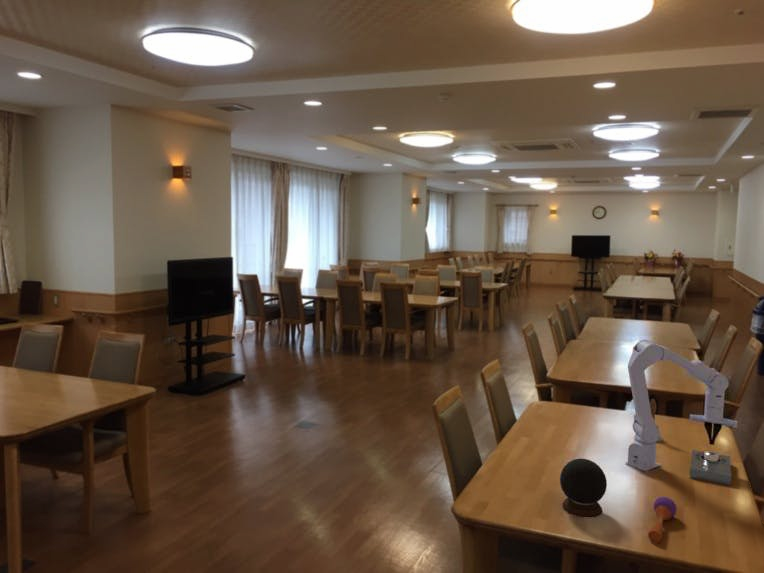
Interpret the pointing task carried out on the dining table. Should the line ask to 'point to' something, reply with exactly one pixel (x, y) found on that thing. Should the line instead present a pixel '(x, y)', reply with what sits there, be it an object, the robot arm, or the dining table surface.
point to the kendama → (661, 516)
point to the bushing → (711, 456)
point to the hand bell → (653, 410)
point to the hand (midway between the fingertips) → (711, 443)
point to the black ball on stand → (583, 487)
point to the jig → (710, 468)
